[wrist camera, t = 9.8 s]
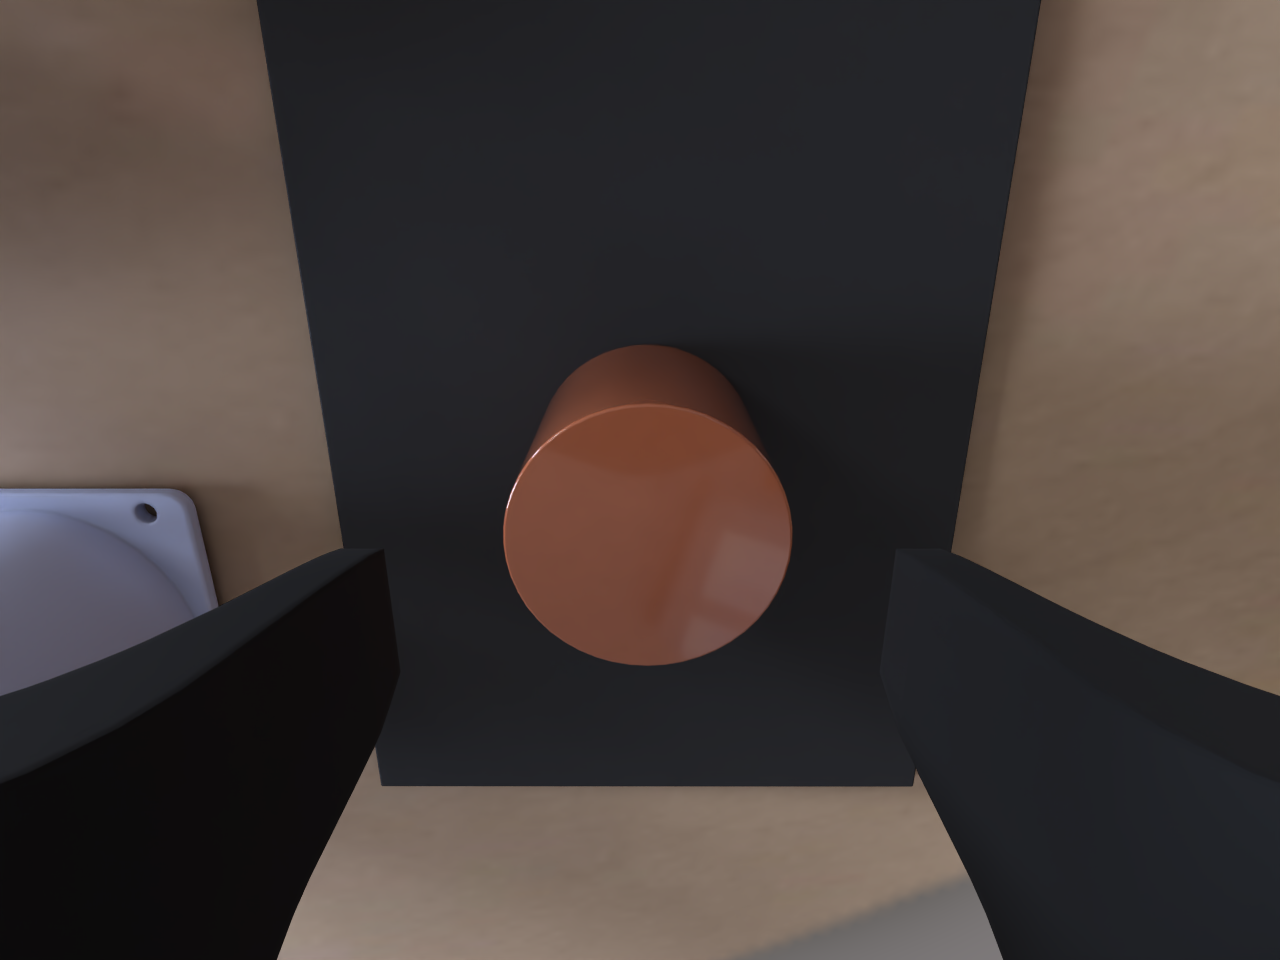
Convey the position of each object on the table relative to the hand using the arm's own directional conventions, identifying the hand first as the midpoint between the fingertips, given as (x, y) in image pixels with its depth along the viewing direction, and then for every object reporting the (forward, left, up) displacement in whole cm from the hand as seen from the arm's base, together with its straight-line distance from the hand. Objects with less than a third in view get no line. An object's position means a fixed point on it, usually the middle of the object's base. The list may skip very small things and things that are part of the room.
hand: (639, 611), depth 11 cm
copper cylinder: (0, 0, -7) cm, 7 cm away
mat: (0, 0, -8) cm, 8 cm away
